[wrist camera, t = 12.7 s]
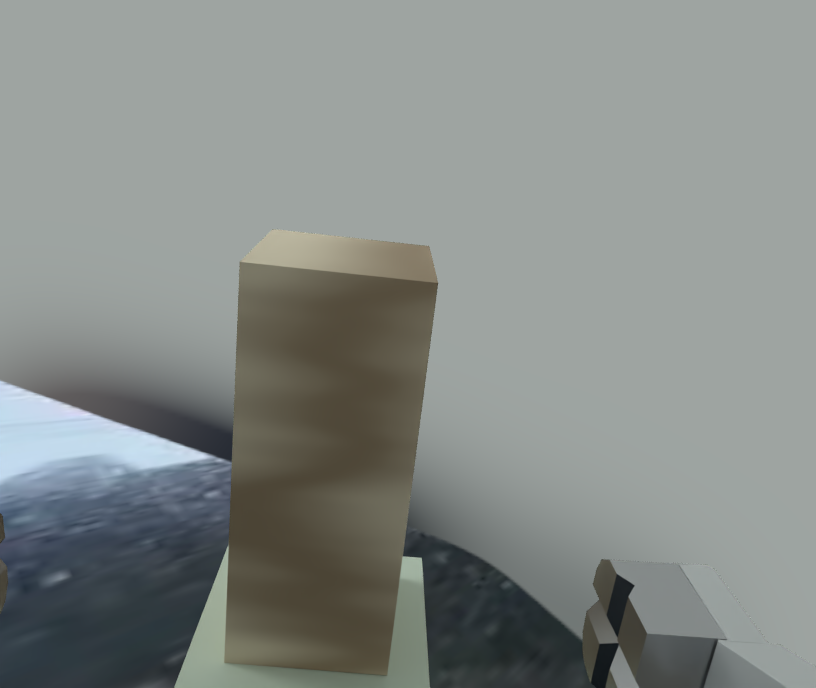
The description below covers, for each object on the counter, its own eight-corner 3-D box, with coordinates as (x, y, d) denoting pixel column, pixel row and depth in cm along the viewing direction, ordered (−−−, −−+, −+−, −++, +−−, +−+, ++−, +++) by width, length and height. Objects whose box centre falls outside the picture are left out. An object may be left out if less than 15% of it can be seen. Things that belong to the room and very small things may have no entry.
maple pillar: (224, 662, 17) (240, 261, 14) (254, 562, 21) (272, 229, 18) (386, 675, 18) (438, 282, 14) (388, 574, 21) (429, 246, 18)
